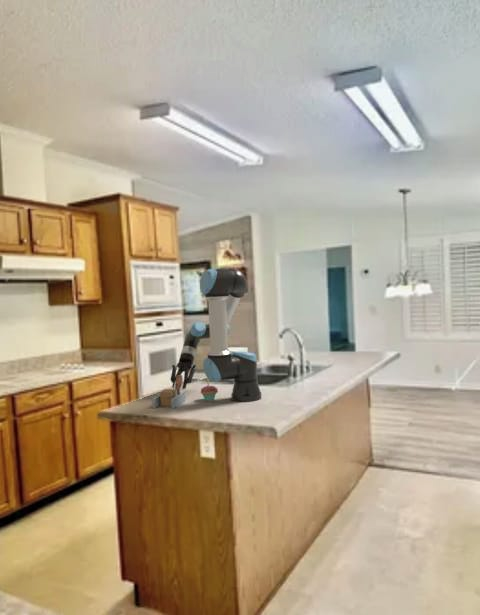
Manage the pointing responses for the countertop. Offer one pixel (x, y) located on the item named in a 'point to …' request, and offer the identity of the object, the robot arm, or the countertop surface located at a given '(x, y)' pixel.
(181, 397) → the lane
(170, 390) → the tethered block
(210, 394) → the cupcake
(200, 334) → the robot arm
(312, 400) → the countertop surface
